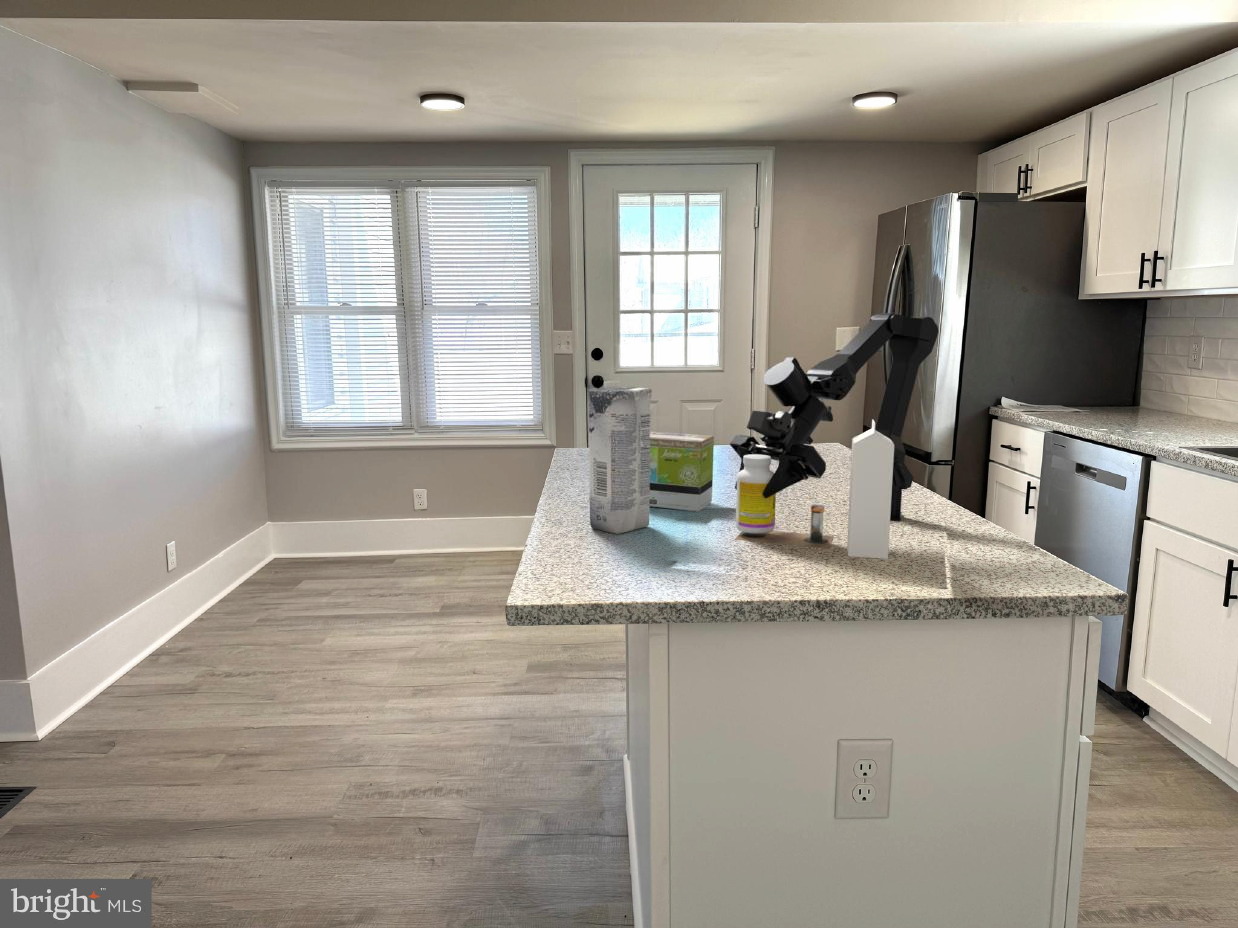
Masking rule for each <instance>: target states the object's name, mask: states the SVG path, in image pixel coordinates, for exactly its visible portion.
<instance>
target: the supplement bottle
mask: <svg viewBox="0 0 1238 928" xmlns="http://www.w3.org/2000/svg"><path fill="white" fill-rule="evenodd" d="M743 463H744V469H743V470H741V471H740V472H739V471H738V473H737V475H736V476H737V477H736V481H737V490H736V500H735V501H736V505H735V507H736V511H735V527H736V529H737V530H738V531H740V532H746V533H756V534H757V533H759V534H761V533H769V532H771V531H774V530H775V526H776V501H777V500H776V499H777V496H776V495H777V493H776V494H774V495H772V496H770V497H769V498H765V497H764V496H763V495H762V494H763V492H764V490H765V488H766V486H767V484H768V483H769V481H770V479H771V478H772V476H773V475H774V473H775V472H774V471H772V470H770V469H771V468H770V466H771V464H772V459H771V457H770V456H767V455H758V454H751V455H745V456H744V457H743Z"/></svg>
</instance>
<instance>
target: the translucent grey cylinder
mask: <svg viewBox="0 0 1238 928" xmlns="http://www.w3.org/2000/svg"><path fill="white" fill-rule="evenodd" d="M824 513H825V506H824V505H823V504H819V503H818V504H817V503H815V504H811V506H810V529H809V530H810V531H809V534H810V541H814V542H821V541H822V536H823V534H824V533H823V531H824Z"/></svg>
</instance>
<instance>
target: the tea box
mask: <svg viewBox="0 0 1238 928" xmlns="http://www.w3.org/2000/svg"><path fill="white" fill-rule="evenodd" d="M714 440H715V436H714V435H708V434H707V435H705V434H704V435H703V434H694V433H693V434H692V433H681V432H680V433H676V432H661V431H650V502H649V507H654V508H656V507H657V508H665V509H672V510H681V511H689V512H694V511H696V513H699V512H701V509H702V510H703V509H704V508H707V506H709V505H710V504H712V502H713V501H712V499H713V485H714V484H713V479H714V478H713V477H714V447H715V446H714V443H715V441H714Z"/></svg>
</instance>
